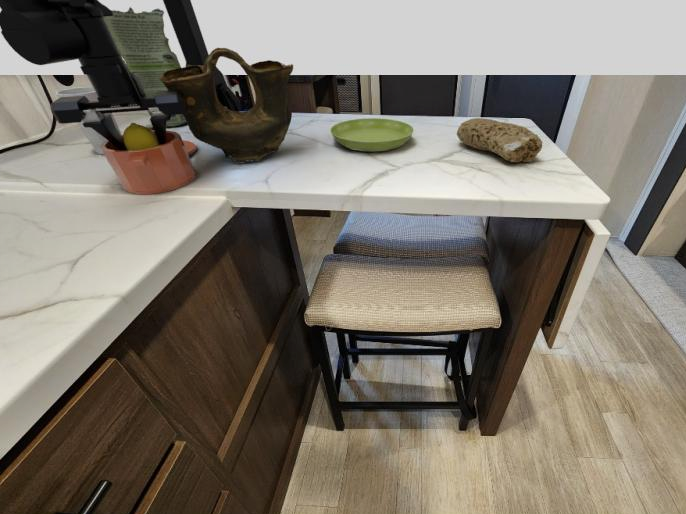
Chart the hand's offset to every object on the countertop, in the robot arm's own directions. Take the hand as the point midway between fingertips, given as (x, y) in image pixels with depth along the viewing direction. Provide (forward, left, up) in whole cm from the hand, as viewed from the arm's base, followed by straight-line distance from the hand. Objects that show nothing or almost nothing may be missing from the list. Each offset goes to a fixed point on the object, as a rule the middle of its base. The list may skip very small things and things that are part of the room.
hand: (149, 157), depth 62 cm
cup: (+13, -24, -5) cm, 28 cm away
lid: (+1, -16, -4) cm, 16 cm away
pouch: (+1, -44, -5) cm, 44 cm away
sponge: (-72, +9, -5) cm, 73 cm away
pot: (0, 0, -4) cm, 4 cm away
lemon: (0, 0, -2) cm, 2 cm away
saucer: (-47, -8, -5) cm, 48 cm away
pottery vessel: (-18, -8, -5) cm, 20 cm away
